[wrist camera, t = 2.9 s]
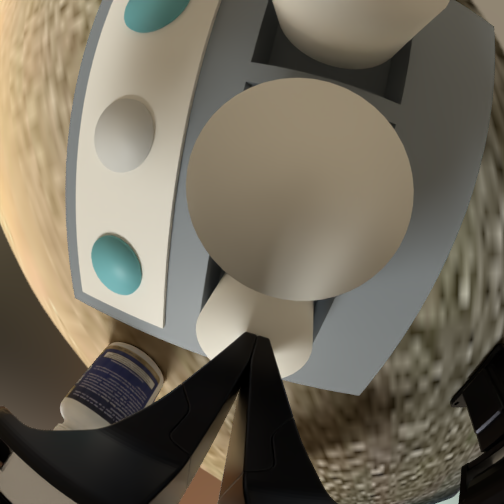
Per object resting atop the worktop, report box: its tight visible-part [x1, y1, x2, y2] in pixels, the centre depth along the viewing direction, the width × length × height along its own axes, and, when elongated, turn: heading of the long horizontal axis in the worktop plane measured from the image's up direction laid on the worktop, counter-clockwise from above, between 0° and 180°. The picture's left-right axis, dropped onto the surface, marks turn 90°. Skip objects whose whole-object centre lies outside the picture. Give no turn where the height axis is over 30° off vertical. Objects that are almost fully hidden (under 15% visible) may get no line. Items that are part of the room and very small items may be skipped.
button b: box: [186, 78, 414, 301], centre depth 6 cm, size 4×4×4 cm
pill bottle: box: [54, 342, 164, 430], centre depth 14 cm, size 5×5×10 cm
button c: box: [196, 272, 314, 378], centre depth 10 cm, size 4×4×4 cm
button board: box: [66, 0, 495, 395], centre depth 9 cm, size 16×18×3 cm
